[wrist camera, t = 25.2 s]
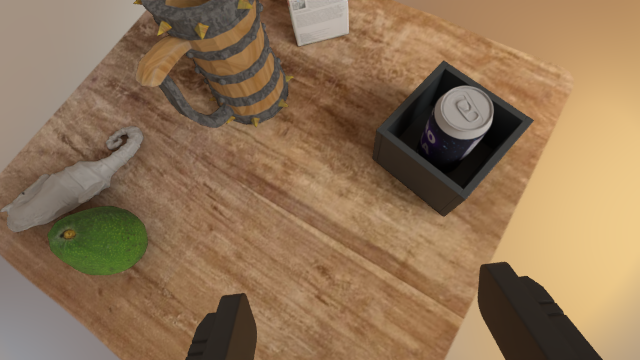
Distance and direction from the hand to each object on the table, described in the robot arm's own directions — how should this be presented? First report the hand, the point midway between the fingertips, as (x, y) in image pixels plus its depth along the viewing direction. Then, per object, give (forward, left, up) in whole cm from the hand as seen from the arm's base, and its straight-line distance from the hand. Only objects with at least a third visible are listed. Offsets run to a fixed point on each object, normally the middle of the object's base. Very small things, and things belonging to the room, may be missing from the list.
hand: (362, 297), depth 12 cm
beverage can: (+4, -20, -30) cm, 36 cm away
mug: (+29, -8, -31) cm, 43 cm away
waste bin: (+4, -20, -30) cm, 36 cm away
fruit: (+25, +16, -31) cm, 42 cm away
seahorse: (+37, +15, -31) cm, 50 cm away
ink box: (+29, -24, -31) cm, 48 cm away
